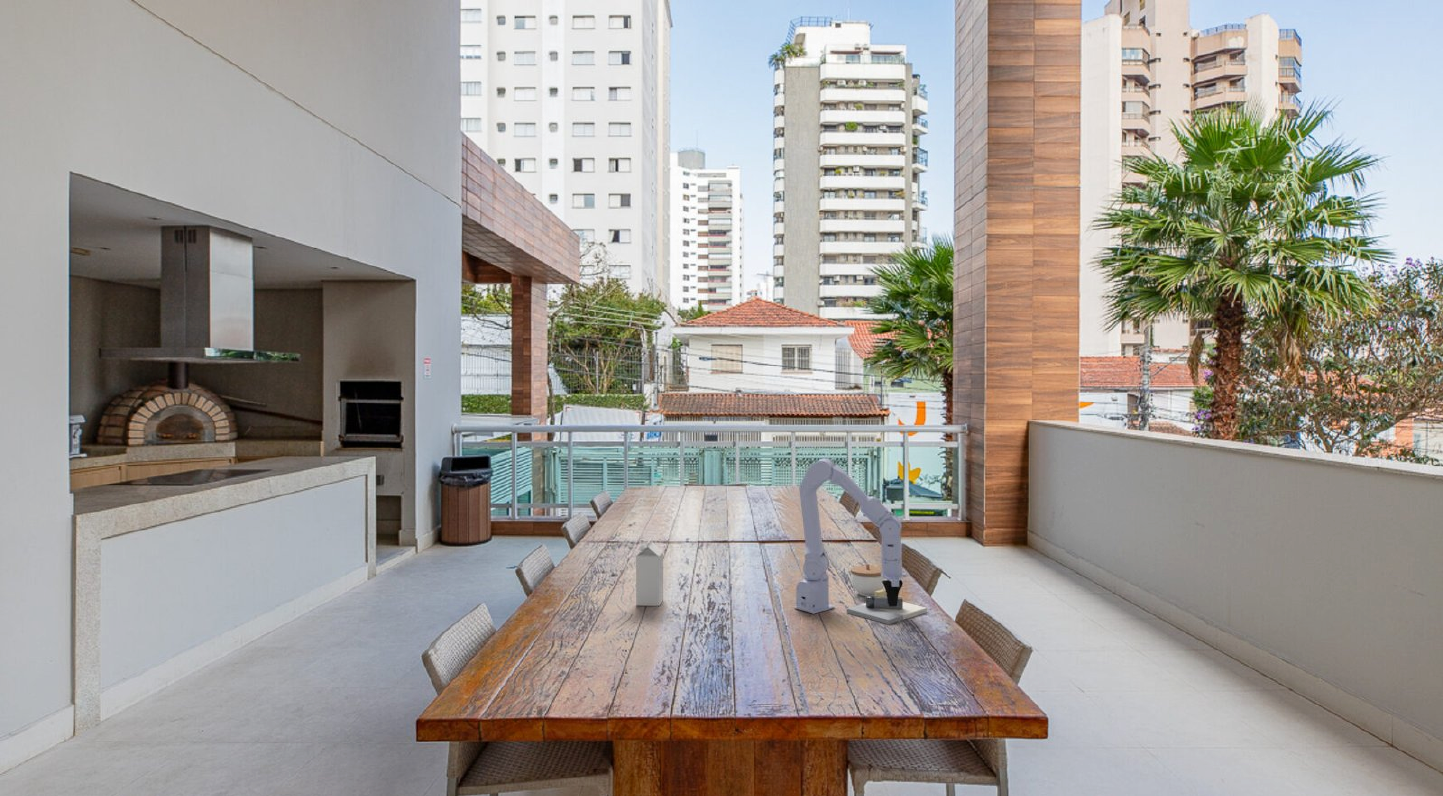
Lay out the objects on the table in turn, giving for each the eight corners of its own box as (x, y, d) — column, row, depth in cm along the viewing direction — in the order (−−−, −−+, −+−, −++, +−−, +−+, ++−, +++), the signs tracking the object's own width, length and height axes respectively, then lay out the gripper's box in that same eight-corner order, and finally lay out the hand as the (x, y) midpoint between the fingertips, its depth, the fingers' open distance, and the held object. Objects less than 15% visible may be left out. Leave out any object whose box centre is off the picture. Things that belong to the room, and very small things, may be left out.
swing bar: (865, 607, 221) (865, 597, 221) (865, 604, 224) (865, 595, 224) (902, 609, 219) (902, 599, 219) (902, 606, 222) (902, 596, 222)
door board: (888, 624, 210) (888, 609, 210) (846, 612, 221) (846, 598, 221) (927, 611, 221) (927, 598, 221) (885, 601, 233) (885, 588, 233)
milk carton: (663, 600, 235) (663, 538, 235) (659, 606, 228) (659, 543, 228) (640, 599, 236) (640, 538, 236) (635, 606, 229) (635, 542, 229)
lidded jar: (888, 598, 236) (888, 568, 236) (853, 598, 236) (853, 568, 236) (881, 589, 247) (881, 560, 247) (848, 589, 247) (848, 560, 247)
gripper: (909, 563, 212) (910, 612, 212) (901, 553, 226) (902, 599, 226) (884, 564, 212) (885, 612, 212) (877, 553, 227) (878, 599, 227)
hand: (892, 605), depth 219 cm, fingers closed, pressing on swing bar
